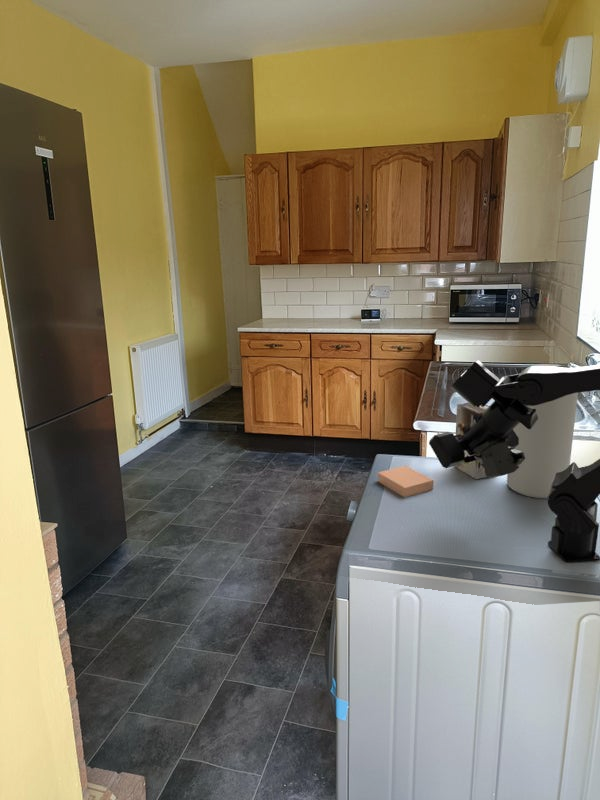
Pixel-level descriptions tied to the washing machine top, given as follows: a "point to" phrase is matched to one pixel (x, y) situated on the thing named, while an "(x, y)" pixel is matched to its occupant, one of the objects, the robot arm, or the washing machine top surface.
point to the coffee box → (463, 419)
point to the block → (405, 481)
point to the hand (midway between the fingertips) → (453, 463)
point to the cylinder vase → (544, 447)
